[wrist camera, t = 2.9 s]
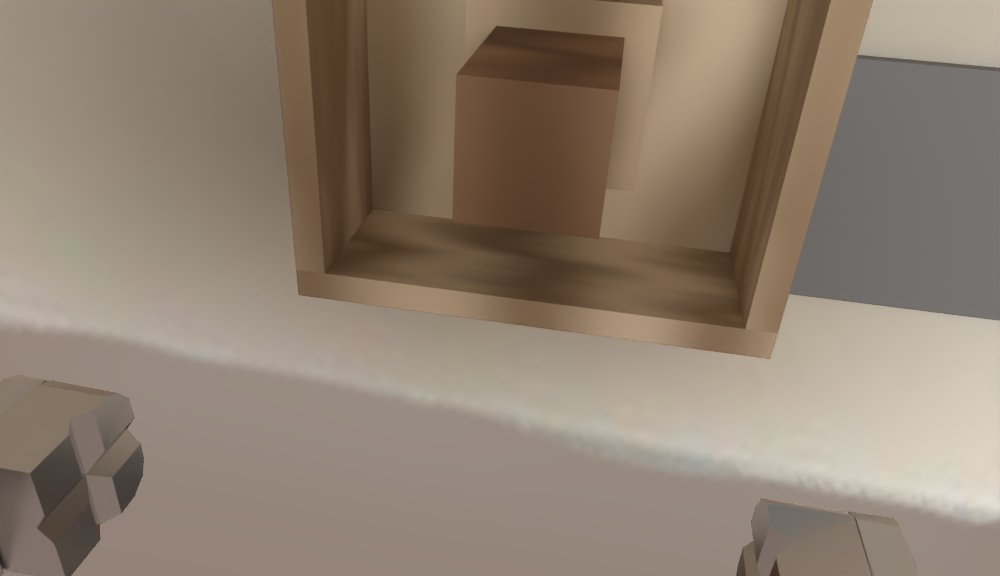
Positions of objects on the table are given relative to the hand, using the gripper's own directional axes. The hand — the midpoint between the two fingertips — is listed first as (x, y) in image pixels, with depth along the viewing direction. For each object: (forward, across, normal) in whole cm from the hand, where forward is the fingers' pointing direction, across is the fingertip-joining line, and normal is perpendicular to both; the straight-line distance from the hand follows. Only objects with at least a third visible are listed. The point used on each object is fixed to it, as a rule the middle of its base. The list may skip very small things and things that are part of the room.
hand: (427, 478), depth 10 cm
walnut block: (+18, 0, 0) cm, 18 cm away
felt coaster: (+21, -14, +3) cm, 25 cm away
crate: (+20, 0, 0) cm, 21 cm away
